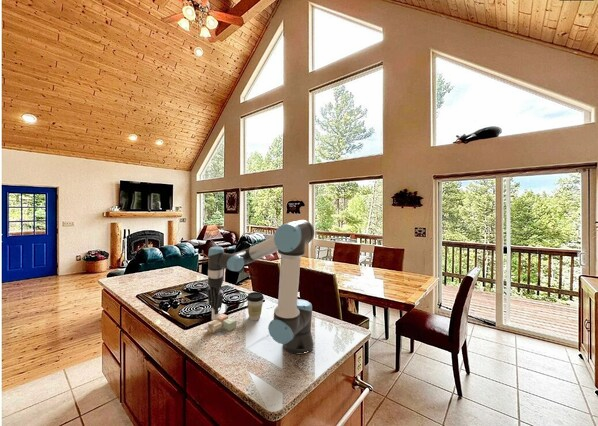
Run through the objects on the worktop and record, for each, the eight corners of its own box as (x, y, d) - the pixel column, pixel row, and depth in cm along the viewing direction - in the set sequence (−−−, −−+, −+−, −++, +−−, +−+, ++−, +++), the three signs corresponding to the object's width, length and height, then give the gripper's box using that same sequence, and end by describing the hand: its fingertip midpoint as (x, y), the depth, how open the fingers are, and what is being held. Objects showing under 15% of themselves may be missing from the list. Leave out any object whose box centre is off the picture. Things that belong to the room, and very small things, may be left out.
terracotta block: (228, 322, 161) (228, 315, 160) (220, 326, 157) (220, 319, 156) (222, 319, 164) (222, 312, 163) (215, 323, 160) (215, 315, 159)
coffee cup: (259, 324, 162) (260, 299, 160) (243, 322, 164) (244, 297, 162) (265, 316, 172) (266, 292, 170) (249, 314, 173) (250, 290, 172)
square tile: (236, 329, 156) (236, 327, 156) (218, 338, 147) (218, 336, 147) (222, 321, 164) (222, 319, 164) (204, 329, 154) (204, 327, 154)
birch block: (221, 330, 153) (221, 322, 152) (213, 333, 149) (213, 326, 148) (216, 326, 156) (216, 319, 155) (208, 330, 152) (208, 323, 151)
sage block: (236, 327, 156) (236, 320, 156) (229, 330, 152) (229, 323, 152) (230, 324, 159) (230, 316, 159) (223, 327, 155) (223, 320, 155)
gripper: (229, 277, 148) (228, 320, 151) (214, 271, 155) (213, 312, 159) (217, 281, 142) (216, 326, 145) (201, 274, 150) (201, 317, 153)
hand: (214, 318), depth 152 cm, fingers closed
